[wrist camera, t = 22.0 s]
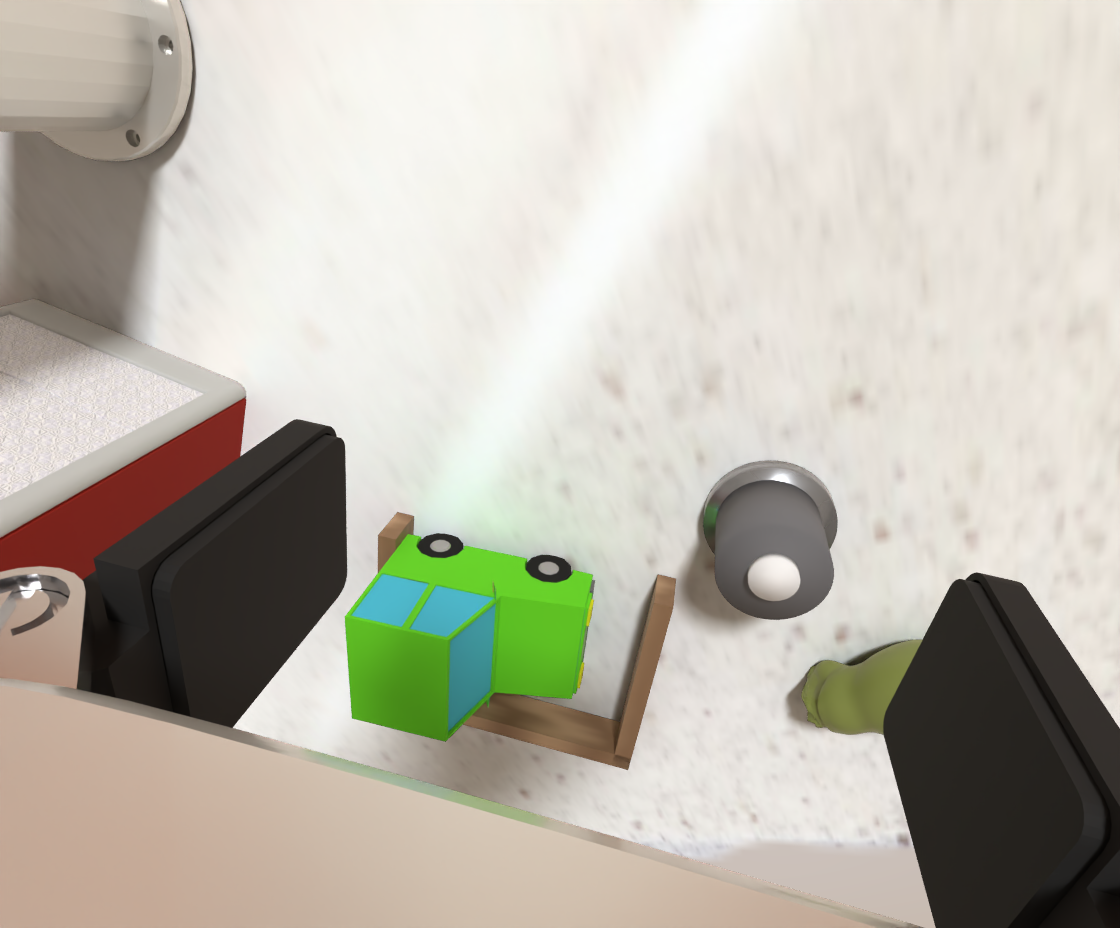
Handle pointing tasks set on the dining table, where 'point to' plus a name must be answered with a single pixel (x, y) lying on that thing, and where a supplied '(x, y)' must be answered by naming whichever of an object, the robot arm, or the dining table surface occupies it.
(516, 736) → the bay
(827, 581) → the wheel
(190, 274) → the dining table surface
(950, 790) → the robot arm
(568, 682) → the toy car
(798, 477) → the shallow metal dish
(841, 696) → the pear
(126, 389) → the red striped mailbox
